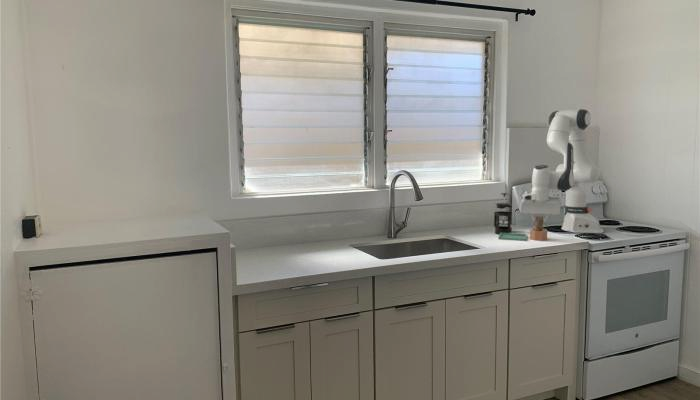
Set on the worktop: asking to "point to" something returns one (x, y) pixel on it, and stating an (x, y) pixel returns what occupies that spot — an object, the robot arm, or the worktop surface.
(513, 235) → the tray
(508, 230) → the french press
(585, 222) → the robot arm
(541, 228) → the dowel
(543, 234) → the cup
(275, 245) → the worktop surface
